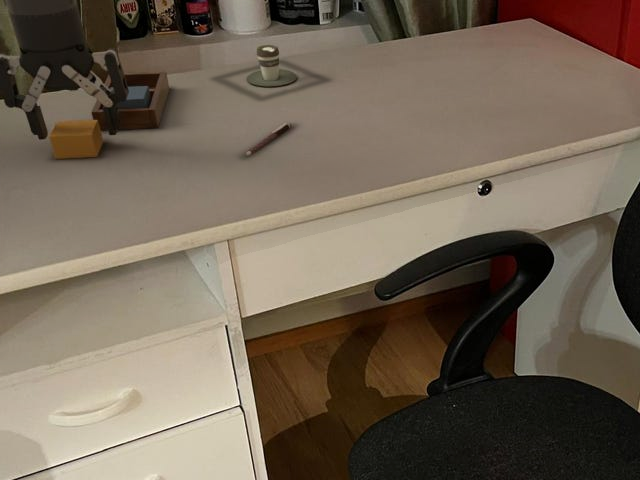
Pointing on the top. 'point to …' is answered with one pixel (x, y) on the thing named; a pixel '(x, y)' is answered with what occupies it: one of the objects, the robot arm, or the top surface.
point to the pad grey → (136, 98)
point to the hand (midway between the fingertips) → (78, 135)
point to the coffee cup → (270, 69)
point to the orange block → (76, 139)
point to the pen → (269, 138)
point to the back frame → (139, 116)
